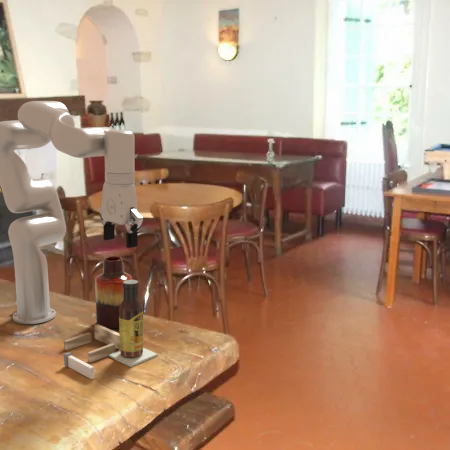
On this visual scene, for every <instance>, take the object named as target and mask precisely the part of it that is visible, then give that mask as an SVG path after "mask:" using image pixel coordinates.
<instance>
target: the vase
mask: <svg viewBox="0 0 450 450" xmlns="http://www.w3.org/2000/svg"><path fill="white" fill-rule="evenodd" d="M102 265H103V266H102V267H103V268H102V273H100V274H98V275H96V277H95V278H94V280H95V281H94V284H95V285H94V286H95V311H96V312H95V313H96V325H97V324H99V325H101V326H103V327H106V328H108V329H110V330H113V331H118V330H119V316H120V312H119V308H120V304H121V302H122V301H123V299H124V297H123V296H124V288H123V282H124V281H126V280H133V277H132V275H131V274H130V273H128V272H125V271H124V270H125V269H124V263H123V257H121V256H117V255H114V256H113V255H111V256H107V257H106V256H105V258H103V264H102Z"/></svg>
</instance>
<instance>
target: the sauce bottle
mask: <svg viewBox="0 0 450 450" xmlns="http://www.w3.org/2000/svg"><path fill="white" fill-rule="evenodd" d="M123 288H124V296H123V297H124V299H123V301H122V302H121V304H120V308H119V312H120V316H119V332H118V333H119V335H120V350H119V351H120V352H121V355H122V356H124V357H128V358H133V357H138V356H140V355H142V353H143V348H145V346H144V344H145V343H144V341H145V340H144V309H143V306H142V304H141V301H140V299H139V281H138V280H136V279H132V280H126V281H124V282H123Z"/></svg>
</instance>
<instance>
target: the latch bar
mask: <svg viewBox="0 0 450 450" xmlns="http://www.w3.org/2000/svg"><path fill="white" fill-rule="evenodd" d="M63 363H64V367H66V368H70V369H72V370H73V371H75V372H77V373H79V374H81V375H83V376H85V377H87V378H88V379H90V380H92V379H95V378H96V376H95V366H93V365H91V364H89V363H87V362H85V361H84V360H82V359H79V358H78V357H75V356H74V355H73V353H72V352H70V351H68V352H65V353H63Z"/></svg>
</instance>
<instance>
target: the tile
mask: <svg viewBox="0 0 450 450" xmlns="http://www.w3.org/2000/svg"><path fill="white" fill-rule="evenodd" d="M108 357H109V358H112V359H113V360H115V361H117V362H119V363H121V364H124V365H125V366H127V367H130V368H132V367H134V366H137V365H139V364H141V363H144V362H147V361H149V360H151V359H154V358H156V357H158V353H156V352H155V351H152V350H150V349H147V348H145V347H144V348H143V353H142V355H140V356H138V357H133V358H128V357H124V356H122V355H121V352H120V350H117V351H115V352H114V353H112V354H109V356H108Z"/></svg>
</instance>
